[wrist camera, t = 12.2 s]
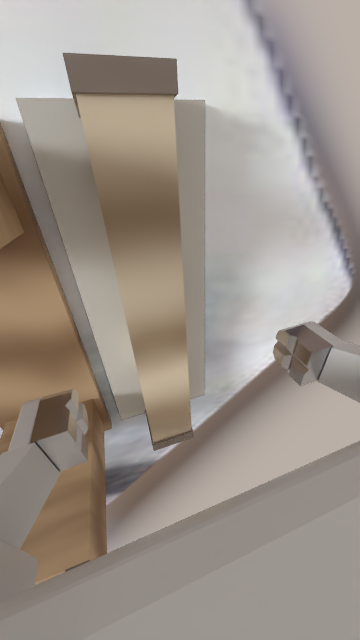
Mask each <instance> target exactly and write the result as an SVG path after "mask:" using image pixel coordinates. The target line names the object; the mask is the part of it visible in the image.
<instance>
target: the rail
mask: <svg viewBox="0 0 360 640" xmlns="http://www.w3.org/2000/svg"><path fill="white" fill-rule="evenodd" d="M63 57H64V61H65V65H66V70H67V74H68V78H69V83H70V87H71V91H72V95H73V98H74V102H75V105H76V109H77V112H78V116H79V118H81V120H82V125H83V129H84V134H85V138H86V143H87V147H88V152H89V156H90V161H91V165H92V170H93V174H94V179H95V183H96V188H97V192H98V197H99V201H100V206H101V210H102V215H103V219H104V224H105V228H106V233H107V237H108V242H109V246H110V250H111V255H112V259H113V264H114V268H115V273H116V277H117V282H118V286H119V291H120V295H121V300H122V304H123V309H124V313H125V318H126V322H127V327H128V331H129V336H130V340H131V345H132V349H133V354H134V358H135V363H136V367H137V371H138V376H139V380H140V385H141V389H142V394H143V398H144V403H145V407H146V410H145V411H146V416H147V421H148V426H149V430H150V435H151V440H152V445H153V449H154V451H155V450H158V449H161V448H164V447H167V446H170V445H173V444H176V443H179V442H181V441H184V440H187V439H190V438H193V436H194V435H193V430H192V427H191V413H190V394H189V376H188V357H187V338H186V319H185V300H184V281H183V263H182V244H181V225H180V206H179V187H178V168H177V150H176V131H175V112H174V97H175V96H176V95H177V94H178V81H177V59H171V58H152V57H133V56H114V55H95V54H76V53H63Z"/></svg>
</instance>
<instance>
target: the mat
mask: <svg viewBox="0 0 360 640" xmlns="http://www.w3.org/2000/svg"><path fill="white" fill-rule="evenodd" d="M16 101H17V104H18V107H19V110H20V113H21V116H22V119H23V122H24V125H25V128H26V131H27V134H28V137H29V140H30V143H31V146H32V149H33V152H34V155H35V158H36V162H37V165H38V168H39V171H40V174H41V177H42V180H43V183H44V186H45V189H46V192H47V195H48V198H49V201H50V204H51V207H52V210H53V213H54V216H55V219H56V222H57V225H58V228H59V231H60V234H61V237H62V241H63V244H64V247H65V250H66V253H67V256H68V259H69V262H70V265H71V268H72V271H73V274H74V277H75V280H76V283H77V286H78V289H79V292H80V295H81V298H82V301H83V304H84V307H85V310H86V313H87V317H88V320H89V323H90V326H91V329H92V332H93V335H94V338H95V341H96V344H97V347H98V350H99V353H100V356H101V359H102V362H103V365H104V368H105V371H106V374H107V377H108V380H109V383H110V386H111V389H112V393H113V396H114V399H115V402H116V405H117V408H118V411H119V414H120V417H121V420H123V419H126V418H130V417H133V416H136V415H140V414H143V413H146V411H145V410H146V407H145V403H144V398H143V394H142V389H141V385H140V380H139V376H138V371H137V367H136V363H135V358H134V354H133V349H132V345H131V340H130V336H129V331H128V327H127V322H126V318H125V313H124V309H123V304H122V300H121V295H120V291H119V286H118V282H117V277H116V273H115V268H114V264H113V259H112V255H111V250H110V246H109V242H108V237H107V233H106V228H105V224H104V219H103V215H102V210H101V206H100V201H99V197H98V192H97V188H96V183H95V179H94V174H93V170H92V165H91V161H90V156H89V152H88V147H87V143H86V138H85V134H84V129H83V125H82V120H81V118H79V116H78V112H77V109H76V105H75V102H74V99H64V98H16ZM174 112H175V131H176V150H177V168H178V187H179V206H180V225H181V244H182V263H183V281H184V300H185V319H186V338H187V357H188V376H189V394H190V399H192V398H196V397H199V396H202V395H204V364H205V100H174Z"/></svg>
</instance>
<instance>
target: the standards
mask: <svg viewBox="0 0 360 640" xmlns="http://www.w3.org/2000/svg"><path fill="white" fill-rule="evenodd" d="M71 389H76V391H77V392H78V394H79V402H82V403H83V404H84V406H85V408H86V411H87V415H88V431H87V432H86V434H85V437H86V439H87V441H88V461H87V462H84V463H82V464H79V465H76V466H74V467H71V468H69V469H66V470H63V471H61V472H60V475H59V477H58V479H57V481H56V483H55V485H54V487H53V488H52V490H51V492H50V494H49V496H48V498H47V500H46V502H45V503H44V505H43V507H42V509H41V511H40V513H39V515H38V517H37V518H36V520H35V522H34V524H33V526H32V528H31V530H30V532H29V533H28V535H27V537H26V539H25V541H24V543H23V545H22V547H21V548H20V549H21V550H23V551H25V552H27V553H29V554H30V555H32V556H34V557H35V558H36V559H37V560H38V565H37V572H36V580H35V585H37V584H40V583H42V582H44V581H46V580H49V579H51V578H53V577H55V576H58V575H60V574H62V573H64V572H66V571H69V570H71V569H73V568H75V567H78V566H80V565H82V564H84V563H87V562H89V561H91V560H93V559H96V558H98V557H100V556H102V555H105V554H107V542H106V541H107V537H106V495H105V454H104V431H106V430H109V429H111V419H110V417H109V414H108V411H107V409H106V406H105V403H104V401H103V398H102V395H101V393H100V390H99V387H98V384H97V382H96V379H95V376H94V374H93V371H92V368H91V366H90V363H89V360H88V358H87V355H86V352H85V350H84V347H83V344H82V342H81V339H80V336H79V333H78V331H77V328H76V325H75V323H74V320H73V317H72V315H71V312H70V309H69V307H68V304H67V301H66V299H65V296H64V293H63V290H62V288H61V285H60V282H59V280H58V277H57V274H56V272H55V269H54V266H53V264H52V261H51V258H50V256H49V253H48V250H47V247H46V245H45V242H44V239H43V237H42V234H41V231H40V229H39V226H38V223H37V221H36V218H35V215H34V213H33V210H32V207H31V204H30V202H29V199H28V196H27V194H26V191H25V188H24V186H23V183H22V180H21V178H20V175H19V172H18V170H17V167H16V164H15V162H14V159H13V156H12V153H11V151H10V148H9V145H8V143H7V140H6V137H5V135H4V132H3V129H2V127H1V124H0V427H1V428H2V429H3V430H4V431H3V433H2V436H1V438H0V455H1V454H2V453H3V452H6V451H8V450H9V446H10V443H11V440H12V437H13V434H14V430H15V427H16V424H17V421H18V418H19V414H20V411H21V408H22V406H23V404H24V403H25V402H26V401H29V400H33V399H37V398H41V397H44V396H47V395H51V394H55V393H59V392H63V391H67V390H71Z"/></svg>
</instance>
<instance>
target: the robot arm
mask: <svg viewBox="0 0 360 640" xmlns="http://www.w3.org/2000/svg"><path fill="white" fill-rule="evenodd" d="M276 339H277V340H278V342H277V343H276V344H275V346H274V350H273V354H274V358H275V360H276V361H277V363H278V364H279V365H280V366H281V367H283V368H286V369H288V373H289V375H290V376H291V377H292V378H293V379H294V380H295V381H296V382H297V383H298V384H299V385H300V386H302V385H305V384H309V383H312V382H315V381H318V382H320V383H322V384H324V385H326V386H328V387H330V388H331V389H334V390H335V391H337V392H339V393H341V394H343V395H345V396H348V397H349V398H351V399H353V400H356V401H357V402H360V345H357V344H354V343H350V342H347V343H345V342H343V341H342V340H340V339H339V338H337V337H336V336H334V335H333V334H331V333H330V332H328V331H327V330H325V329H324V328H322V327H321V326H319V325H318V324H316V323H315V322H311V321H310V322H306V323H303V324H300V325H296V326H293V327H289V328H286V329H282V330H279V331H278V333H277V335H276ZM87 431H88V415H87V411H86V408H85V406H84V404H83V403H82V402H79V394H78V392H77V391H76V389H71V390H67V391H63V392H59V393H55V394H51V395H47V396H44V397H41V398H37V399H33V400H29V401H26V402H25V403H24V404H23V406H22V408H21V411H20V414H19V418H18V421H17V424H16V427H15V430H14V434H13V437H12V440H11V443H10V446H9V450H8V451H6V452H3V453H2V454H1V455H0V640H360V441H358V442H356V443H354V444H351V445H349V446H347V447H345V448H342V449H340V450H338V451H336V452H333V453H331V454H329V455H327V456H324V457H322V458H320V459H318V460H316V461H313V462H311V463H309V464H306V465H304V466H302V467H300V468H298V469H295V470H293V471H291V472H289V473H287V474H284V475H282V476H280V477H277V478H275V479H273V480H271V481H268V482H266V483H264V484H262V485H259V486H257V487H255V488H253V489H251V490H248V491H246V492H244V493H241V494H239V495H237V496H235V497H233V498H230V499H228V500H226V501H224V502H221V503H219V504H217V505H215V506H212V507H210V508H208V509H206V510H203V511H201V512H199V513H197V514H195V515H192V516H190V517H188V518H185V519H183V520H181V521H179V522H176V523H174V524H172V525H170V526H168V527H165V528H163V529H161V530H159V531H156V532H154V533H152V534H149V535H147V536H145V537H143V538H141V539H138V540H136V541H134V542H132V543H129V544H127V545H125V546H123V547H120V548H118V549H116V550H114V551H111V552H109V553H107V554H105V555H102V556H100V557H98V558H96V559H93V560H91V561H89V562H87V563H84V564H82V565H80V566H78V567H75V568H73V569H71V570H69V571H66V572H64V573H62V574H60V575H58V576H55V577H53V578H51V579H49V580H46V581H44V582H42V583H40V584H37V585H35V580H36V572H37V565H38V560H37V559H36V558H35V557H34V556H32V555H30V554H29V553H27V552H25V551H23V550H21V549H20V548H21V547H22V545H23V543H24V541H25V539H26V537H27V535H28V533H29V532H30V530H31V528H32V526H33V524H34V522H35V520H36V518H37V517H38V515H39V513H40V511H41V509H42V507H43V505H44V503H45V502H46V500H47V498H48V496H49V494H50V492H51V490H52V488H53V487H54V485H55V483H56V481H57V479H58V477H59V475H60V472H61V471H63V470H66V469H69V468H71V467H74V466H76V465H79V464H82V463H84V462H87V461H88V441H87V439H86V437H85V434H86V432H87Z"/></svg>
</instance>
